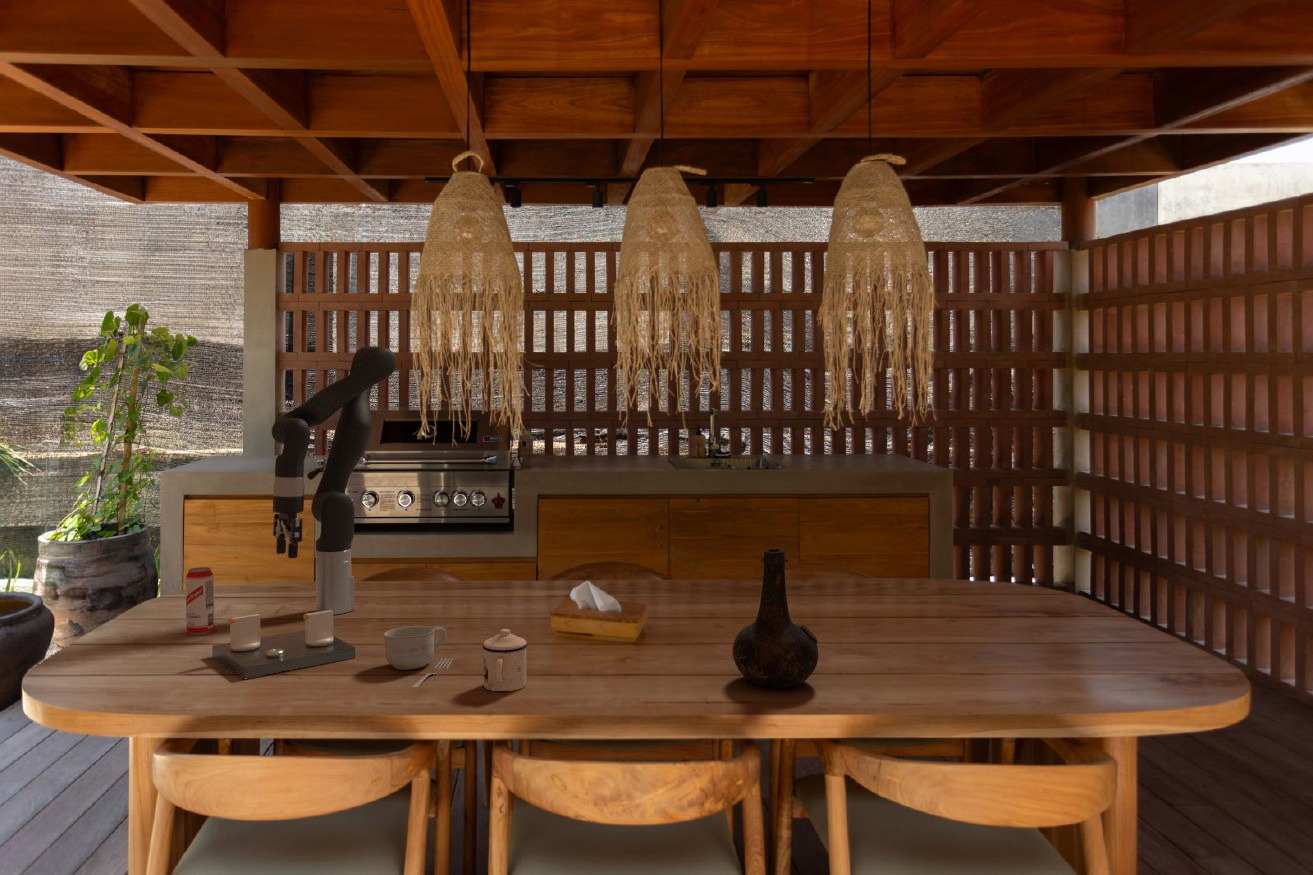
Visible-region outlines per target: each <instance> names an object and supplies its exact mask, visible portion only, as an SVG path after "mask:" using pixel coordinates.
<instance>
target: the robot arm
mask: <svg viewBox="0 0 1313 875" xmlns="http://www.w3.org/2000/svg"><path fill="white" fill-rule="evenodd" d="M351 361H352V362H351V365H350V372H349V374H348V375H347V376H345V377H343V378H341V379H339V380H337V381H335V382H333V383H331V384H329V385H327V386H325V387H323V388H321V389H320V390H319V391H317V392H316V393H315V394H314V395H312V396H311V397H310V398H308V399H307V400H305V402H304V403H303V404H301V405H299V406H297V407H296V408H293V409H292V410H290V411H289V412H287V413H285V414H283V415H282V416H280V417H279V418H277V420H276V421H275V422H273V425H272V427H271V436H272V439H273V440H274V441H275V442H277V443H279V444H282V445H283V447H282V451H281V454H279V455H276V458H275V462H274V463H275V465H274V481H273V486H272V487H273V489H272V491H273V492H272V512H273V513H274V514H273V530H272V531H273V532H272V535H273V537H275V540H276V546H275V547H276V548H275V549H276V550H275V551H276V554H278V555H281V554H282V555H283V554H286V550H287V557H288V559H296V558H298V555H299V554H298V553H299V549H298V548H299V544H300V542H303V518H298V514H299V513H301V514H302V513H303V512H304V507H305V459H306V457H307V454H308V449H309V445H310V441H311V430H310V428H312V427H315V426H319V425H321V424H323V423H324V422H326V421H327V420H328V419H329V418H331V417H332V416H333V415H334V414H336V413H337V412H338V411H339V410H340V409H341V410H340V414H339V417H338V421H337V424H336V426H335V430H334V434H333V438H332V441H331V442H332V443H331V445H330V448H329V452H328V456H327V459H326V463H325V466H324V467H325V468H324V471H323V473H322V476H321V478H320V481H319V483H318V486H317V489H316V490H315V493H314V495H313V498H312V501H311V507H310V509H311V514H312V516H313V518H314V519H315V520H316V521H318V522H319V523H320V535H319V537H318V538H317V539H316V541H315V595H316V596H315V598H316V599H315V602H316V604H315V610H316V611H315V612H322V611H328V610H332V611H333V616H335V615H341V614H346V613H349V612H351V611H355V608H356V607H355V603H356V602H355V576H354V575H352V543H353V540H354V538H355V537H354V535H355V515H356V514H355V504H354V500H352V498H351V497H350V496H349V495H348V494H346V490H347V486H348V482H349V479H350V476H351V474H352V473H353V471H354V469H355V468H356V467H357V465H358V463H359V461H361V459H362V457H363V455H364V453H365V452H366V449H367V446H368V444H369V439H370V436H371V433H372V427H373V417H372V412H371V407H370V406H371V405H370V403H371V402H370V398H371V397H370V396H371V393H372V390H373V389H372V388H373V387H374V386H376V385H377V384H378V383H380V382H381V383H382V381H384V380H386V379H388V378H389V377H391V376H392V375H393V373H394V372H395V371H396V368H397V364H398V363H397V357H396V355H395V353H394V352H393V351H392V350H391V349H390V348H387V347H385V346H384V347H383V346H370V345H369V346H367V345H366V346H365V345H364V346H362V347H360V348H359V349H357V351H355V353H354V355H353V358H352V360H351ZM287 542H288V545H287ZM287 546H288V548H287Z"/></svg>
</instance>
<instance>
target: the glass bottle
mask: <svg viewBox="0 0 1313 875" xmlns="http://www.w3.org/2000/svg"><path fill="white" fill-rule="evenodd" d="M786 553H787V552H786V550H784V549H782V548H769V549H767V548H766V549H764V550H763V557H761V558H760V559H759V561H760V562H761V563H763V574H762V586H761V596H760V601H759V602H760V603H759V608H758V612H757V616H756V619H755V620H754V621H753V622H752V623H750V624H748V625H747V626H745V627H743V628H742V629H741V630H740V631H739V632H738V634H737V635H736V636H735V639H734V641H733V645H732V658H733V661H734V663H735V665H736V668H737V670H738V671H739V672H740V673H741V674H742V676H743V677H744V678H745V679H747V680H748V681H749V682H751V683H753V684H754V685H758V686H760V687H763V686H764V687H765V688H768V687H773V688H772V689H787V688H786V687H789V688H793V687H797V686H798V685H800V684H802V683H803V682H804V683H805V681H806V680H808V678H810V676H811V675H812V674H813V672H814V671H815V670H816V667H817V665H818V662H819V647H818V639H817V637H816V636H815V634H814V633H813V632H812V631H811V630H810V629H809V628H808V627H807V626H805V625H799V624H796V623H794V622H793V621H792V619H791V615H790V611H789V610H790V609H789V606H788V605H789V604H788V597H787V587H786V586H787V584H786V572H785V571H786V569H785V567H786V566H785V563H787V562H790V558H789V557H786ZM764 687H763V688H764Z"/></svg>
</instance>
